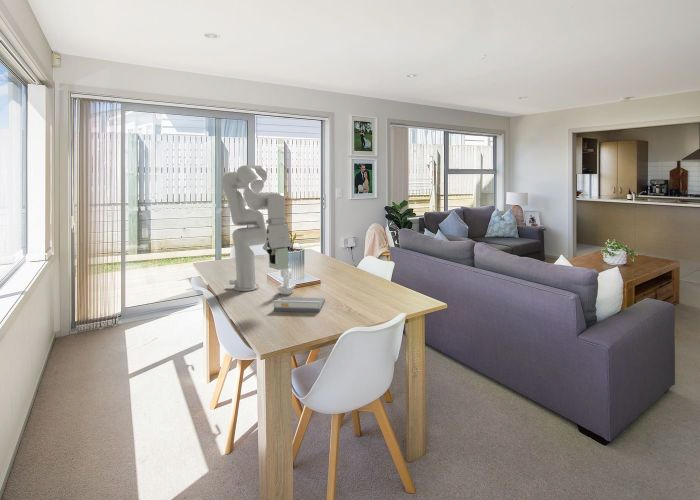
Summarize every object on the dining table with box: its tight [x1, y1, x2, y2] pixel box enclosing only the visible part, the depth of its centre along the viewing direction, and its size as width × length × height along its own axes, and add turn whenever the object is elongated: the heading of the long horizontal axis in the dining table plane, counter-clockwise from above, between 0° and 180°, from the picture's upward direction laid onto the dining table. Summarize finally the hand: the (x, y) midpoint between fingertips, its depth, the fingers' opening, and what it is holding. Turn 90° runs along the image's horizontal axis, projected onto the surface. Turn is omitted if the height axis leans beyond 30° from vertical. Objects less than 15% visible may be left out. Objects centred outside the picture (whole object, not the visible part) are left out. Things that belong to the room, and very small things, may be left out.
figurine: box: [277, 263, 297, 296], centre depth 206 cm, size 7×9×15 cm
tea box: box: [267, 247, 290, 271], centre depth 184 cm, size 8×5×9 cm, turn 42°
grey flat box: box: [273, 296, 326, 313], centre depth 187 cm, size 20×16×4 cm
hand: (278, 262), depth 184 cm, fingers closed on tea box, 5 cm apart
